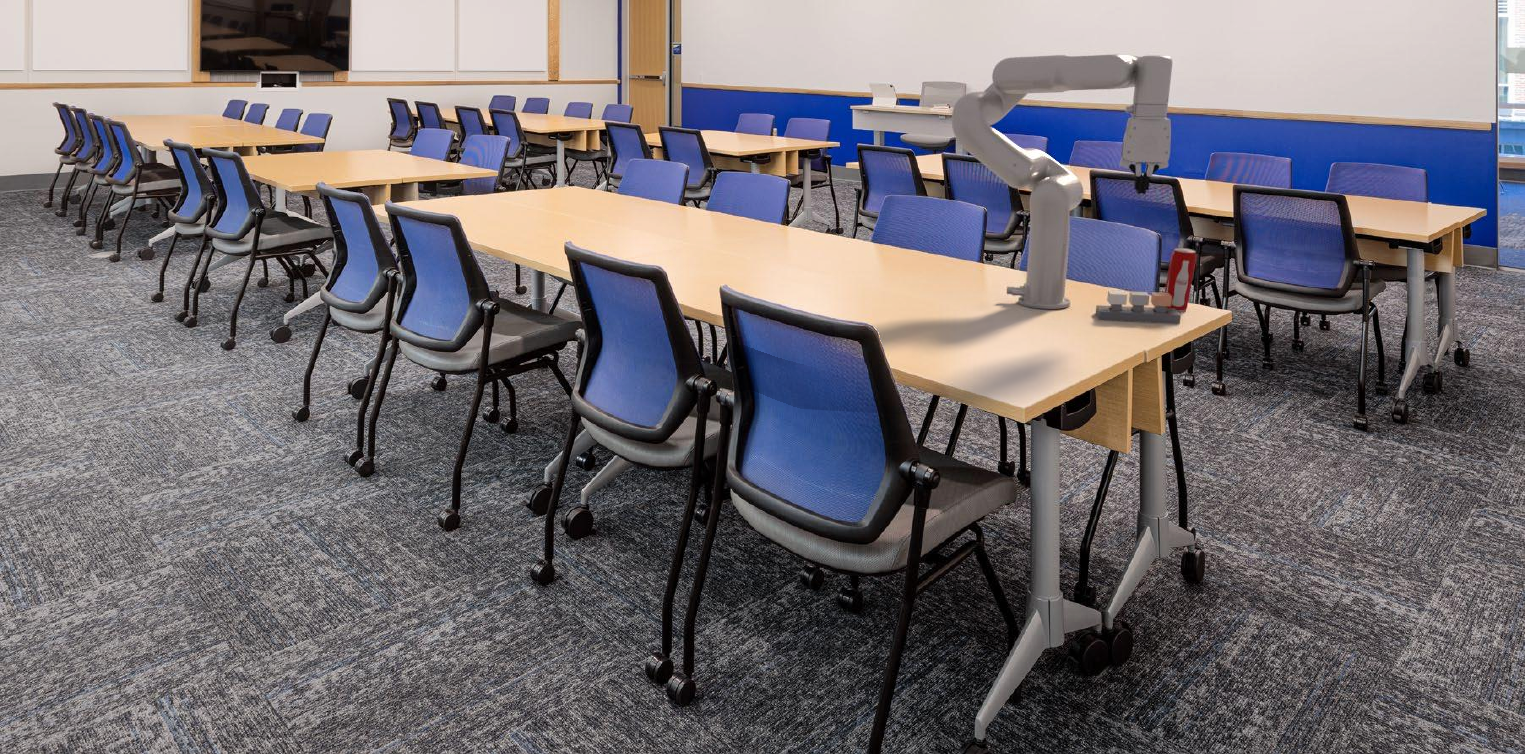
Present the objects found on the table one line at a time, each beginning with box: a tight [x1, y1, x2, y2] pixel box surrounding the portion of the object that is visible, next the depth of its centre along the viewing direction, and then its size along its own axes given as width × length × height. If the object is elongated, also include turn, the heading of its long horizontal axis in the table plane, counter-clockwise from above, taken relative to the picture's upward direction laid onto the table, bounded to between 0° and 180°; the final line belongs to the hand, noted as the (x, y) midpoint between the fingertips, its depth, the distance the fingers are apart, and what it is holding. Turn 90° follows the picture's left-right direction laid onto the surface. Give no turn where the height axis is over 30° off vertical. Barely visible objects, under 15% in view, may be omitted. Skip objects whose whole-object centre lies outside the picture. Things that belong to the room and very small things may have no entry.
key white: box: [1106, 290, 1128, 311], centre depth 246 cm, size 4×4×5 cm
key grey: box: [1128, 291, 1151, 312], centre depth 246 cm, size 4×4×5 cm
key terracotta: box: [1150, 291, 1172, 313], centre depth 245 cm, size 4×4×5 cm
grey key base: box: [1095, 304, 1181, 324], centre depth 246 cm, size 18×7×2 cm, turn 81°
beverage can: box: [1163, 247, 1197, 313], centre depth 253 cm, size 6×6×15 cm
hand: (1140, 193), depth 242 cm, fingers closed
